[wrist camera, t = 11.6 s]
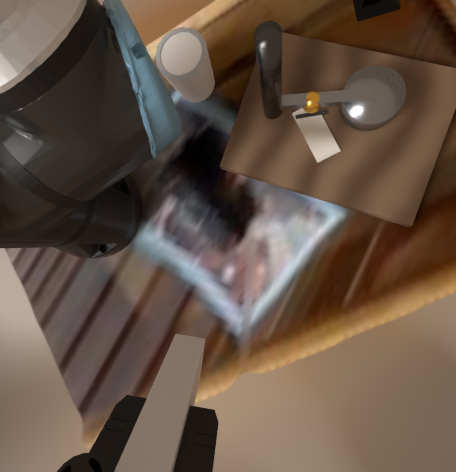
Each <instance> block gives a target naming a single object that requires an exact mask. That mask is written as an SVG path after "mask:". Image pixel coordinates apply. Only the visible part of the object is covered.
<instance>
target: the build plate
mask: <svg viewBox="0 0 456 472" xmlns="http://www.w3.org/2000/svg"><path fill="white" fill-rule="evenodd" d="M353 3H354V7H355V12H356V17H357V21H361V20H365V19H368V18H372V17H375V16H378V15H382V14H385V13H389V12H392V11H395V10H399V9H400V8H401V7H400V2H399V0H353Z"/></svg>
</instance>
